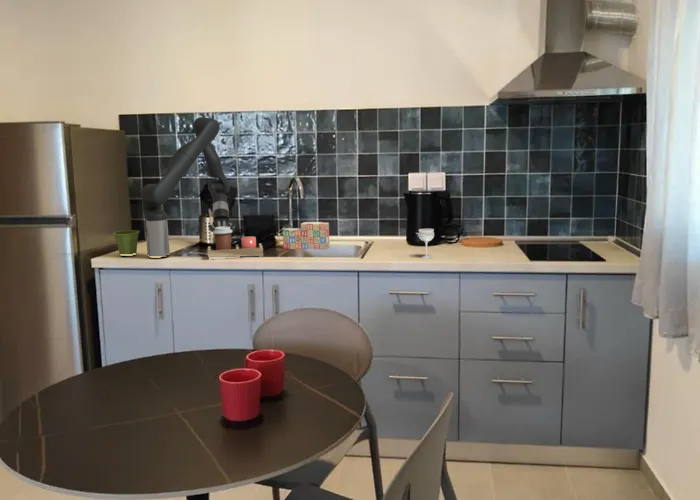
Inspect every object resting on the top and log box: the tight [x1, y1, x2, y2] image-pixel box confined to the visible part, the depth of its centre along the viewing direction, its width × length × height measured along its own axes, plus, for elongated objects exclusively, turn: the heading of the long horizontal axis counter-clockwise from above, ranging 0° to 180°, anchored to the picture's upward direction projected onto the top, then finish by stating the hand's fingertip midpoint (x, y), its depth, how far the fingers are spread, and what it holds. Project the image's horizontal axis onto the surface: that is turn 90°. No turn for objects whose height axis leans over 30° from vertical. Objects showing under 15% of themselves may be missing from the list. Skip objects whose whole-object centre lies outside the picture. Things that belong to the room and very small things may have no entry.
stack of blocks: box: [282, 221, 331, 251], centre depth 312 cm, size 21×6×12 cm, turn 76°
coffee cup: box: [212, 226, 233, 250], centre depth 305 cm, size 9×9×12 cm
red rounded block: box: [240, 235, 257, 249], centre depth 299 cm, size 6×6×8 cm
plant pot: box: [112, 230, 140, 255], centre depth 305 cm, size 12×12×11 cm
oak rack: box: [207, 243, 264, 258], centre depth 298 cm, size 13×24×4 cm, turn 101°
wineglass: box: [417, 227, 435, 259], centre depth 279 cm, size 7×7×12 cm
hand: (222, 241), depth 310 cm, fingers closed
